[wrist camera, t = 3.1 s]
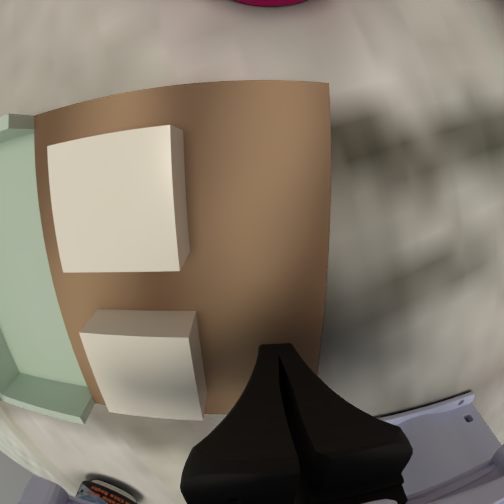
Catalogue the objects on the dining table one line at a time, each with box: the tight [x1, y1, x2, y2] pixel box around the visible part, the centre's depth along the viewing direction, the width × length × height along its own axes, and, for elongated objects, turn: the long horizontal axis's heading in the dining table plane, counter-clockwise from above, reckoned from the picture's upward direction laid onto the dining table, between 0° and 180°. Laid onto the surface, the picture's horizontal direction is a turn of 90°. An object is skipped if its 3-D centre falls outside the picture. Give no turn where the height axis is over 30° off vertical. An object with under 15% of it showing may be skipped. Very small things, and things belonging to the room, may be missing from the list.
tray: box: [0, 114, 95, 425], centre depth 11 cm, size 7×15×3 cm, turn 1°
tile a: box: [79, 309, 207, 421], centre depth 12 cm, size 4×4×2 cm
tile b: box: [47, 125, 190, 273], centre depth 10 cm, size 4×4×2 cm
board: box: [34, 80, 331, 414], centre depth 12 cm, size 12×15×1 cm
